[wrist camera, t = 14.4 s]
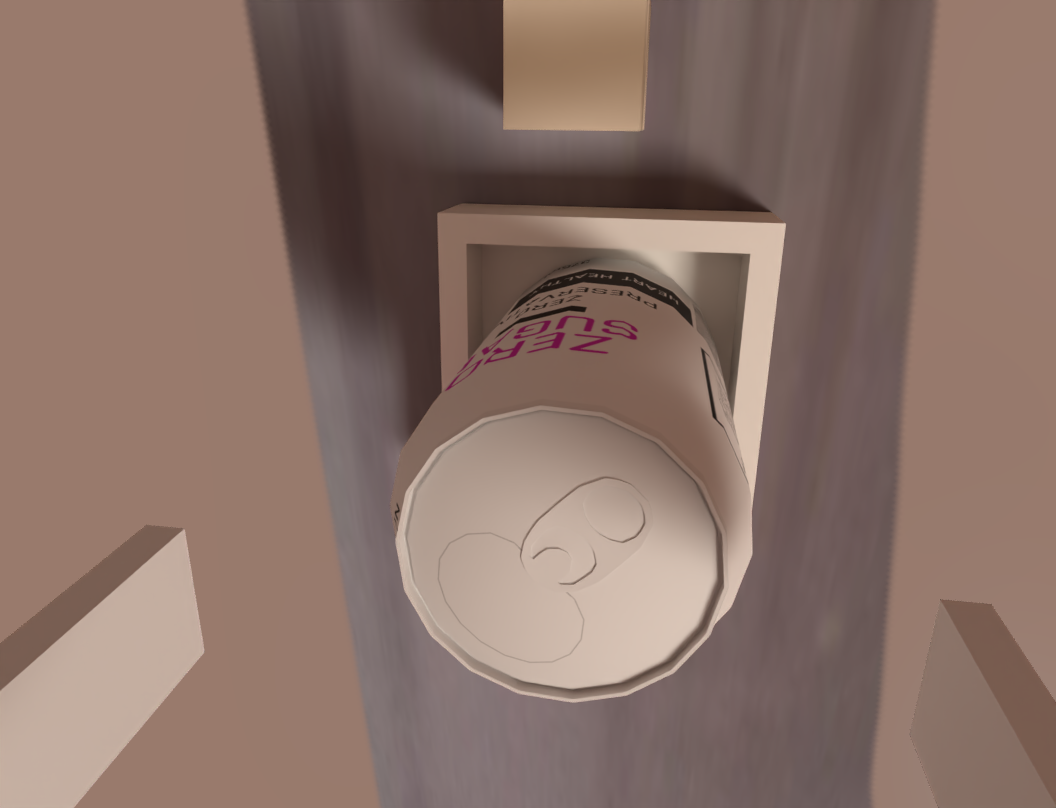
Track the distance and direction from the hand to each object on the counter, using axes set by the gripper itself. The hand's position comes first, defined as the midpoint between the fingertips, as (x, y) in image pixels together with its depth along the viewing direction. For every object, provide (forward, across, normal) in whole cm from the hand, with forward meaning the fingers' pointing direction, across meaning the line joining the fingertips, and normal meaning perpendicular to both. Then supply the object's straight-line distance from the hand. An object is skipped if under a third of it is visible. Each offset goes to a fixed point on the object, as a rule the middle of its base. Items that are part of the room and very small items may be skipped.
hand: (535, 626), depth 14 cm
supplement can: (+18, 0, -1) cm, 18 cm away
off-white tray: (+19, 0, -1) cm, 19 cm away
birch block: (+19, -1, +10) cm, 21 cm away
